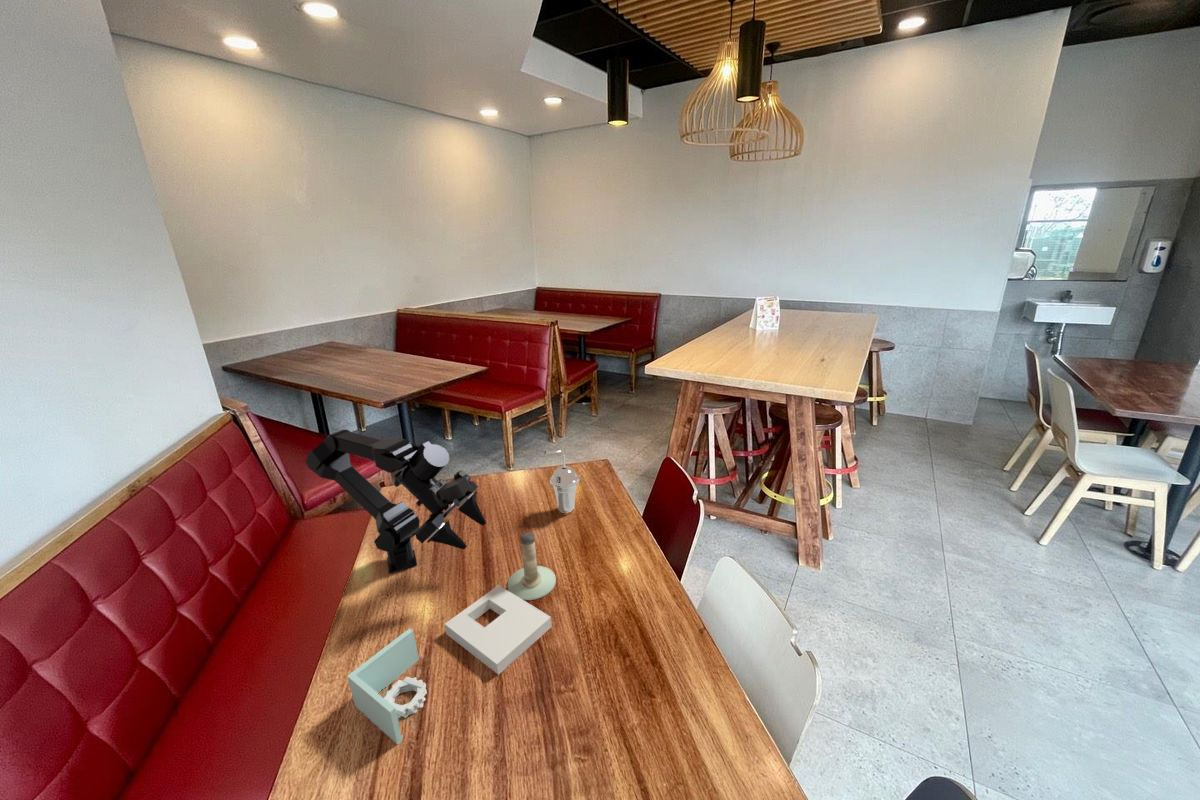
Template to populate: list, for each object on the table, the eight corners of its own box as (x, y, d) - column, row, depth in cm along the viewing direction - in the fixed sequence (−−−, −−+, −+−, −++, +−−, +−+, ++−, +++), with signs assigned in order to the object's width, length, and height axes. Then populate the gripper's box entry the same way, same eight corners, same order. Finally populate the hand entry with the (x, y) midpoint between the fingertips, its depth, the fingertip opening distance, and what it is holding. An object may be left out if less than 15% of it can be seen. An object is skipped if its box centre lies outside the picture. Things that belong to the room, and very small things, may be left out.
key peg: (519, 586, 107) (514, 541, 103) (526, 573, 111) (522, 529, 107) (537, 589, 106) (532, 543, 102) (544, 576, 110) (540, 532, 106)
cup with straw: (580, 517, 134) (576, 453, 128) (548, 518, 134) (543, 454, 128) (581, 502, 142) (578, 441, 136) (551, 502, 142) (547, 441, 136)
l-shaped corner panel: (398, 747, 75) (390, 712, 72) (355, 709, 81) (347, 676, 78) (458, 689, 84) (452, 656, 82) (415, 659, 90) (409, 628, 88)
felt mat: (502, 576, 111) (501, 575, 111) (545, 562, 116) (545, 560, 116) (516, 606, 102) (515, 604, 102) (563, 589, 106) (563, 587, 106)
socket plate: (446, 633, 95) (444, 624, 95) (499, 594, 106) (498, 584, 105) (498, 674, 86) (497, 664, 85) (551, 626, 96) (550, 616, 95)
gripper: (420, 488, 94) (476, 542, 95) (466, 449, 111) (513, 495, 112) (391, 517, 98) (446, 569, 99) (440, 476, 116) (486, 520, 117)
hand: (475, 535), depth 107 cm, fingers open, 9 cm apart
